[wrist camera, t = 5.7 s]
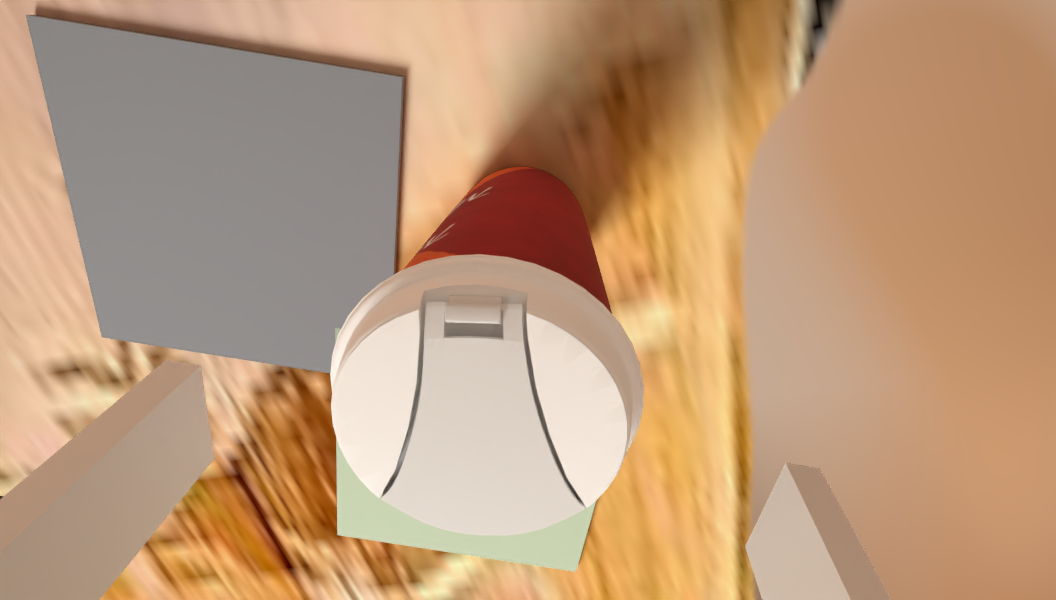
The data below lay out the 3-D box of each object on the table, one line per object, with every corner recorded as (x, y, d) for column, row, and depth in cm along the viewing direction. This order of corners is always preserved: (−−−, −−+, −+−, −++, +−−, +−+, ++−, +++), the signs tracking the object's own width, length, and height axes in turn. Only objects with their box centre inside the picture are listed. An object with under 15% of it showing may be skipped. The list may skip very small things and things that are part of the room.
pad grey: (107, 333, 31) (102, 337, 31) (34, 14, 24) (25, 15, 23) (391, 378, 31) (389, 382, 31) (404, 76, 24) (402, 77, 24)
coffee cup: (430, 138, 25) (277, 275, 12) (613, 141, 25) (670, 285, 11) (443, 303, 29) (338, 548, 16) (602, 308, 28) (634, 564, 15)
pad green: (339, 530, 37) (337, 534, 37) (337, 324, 30) (335, 327, 30) (575, 566, 37) (576, 571, 37) (631, 371, 30) (632, 375, 30)
